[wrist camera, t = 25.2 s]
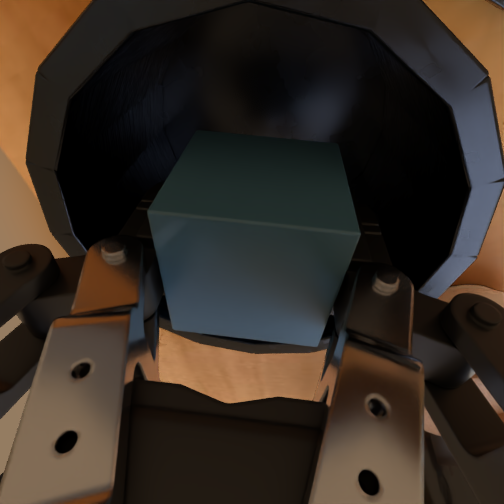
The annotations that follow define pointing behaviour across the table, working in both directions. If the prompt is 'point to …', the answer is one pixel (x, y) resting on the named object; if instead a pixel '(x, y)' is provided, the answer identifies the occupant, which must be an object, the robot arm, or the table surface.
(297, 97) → the pot
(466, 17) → the table surface
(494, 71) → the table surface
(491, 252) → the table surface
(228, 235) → the block
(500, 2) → the lid
